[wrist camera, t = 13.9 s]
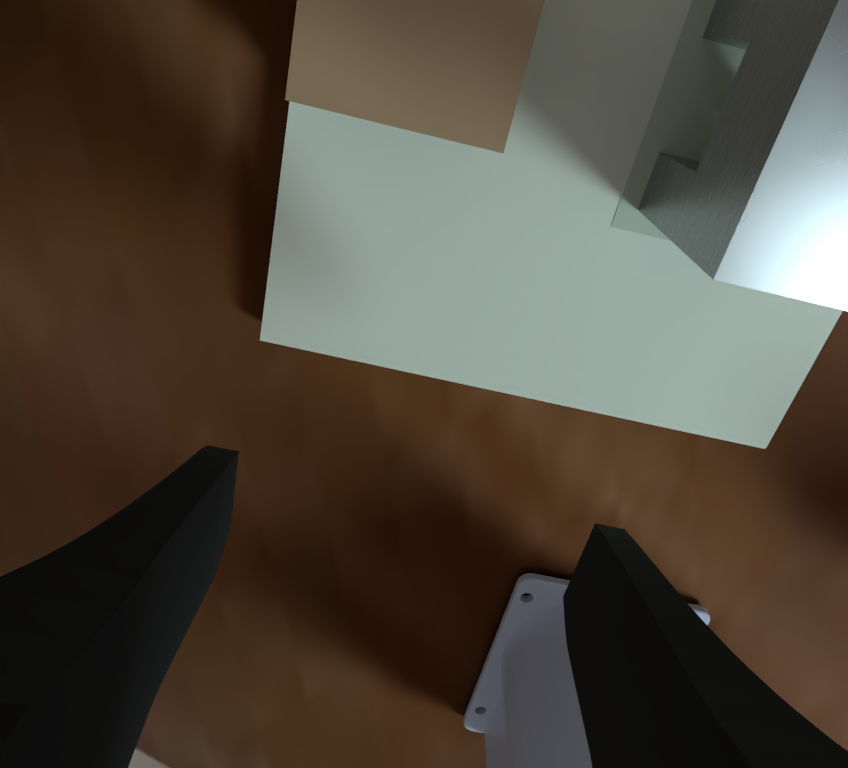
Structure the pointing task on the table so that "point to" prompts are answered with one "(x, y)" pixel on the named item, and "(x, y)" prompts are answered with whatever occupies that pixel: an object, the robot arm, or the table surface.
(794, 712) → the robot arm
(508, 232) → the base
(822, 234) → the grey block
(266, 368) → the table surface
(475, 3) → the cover
